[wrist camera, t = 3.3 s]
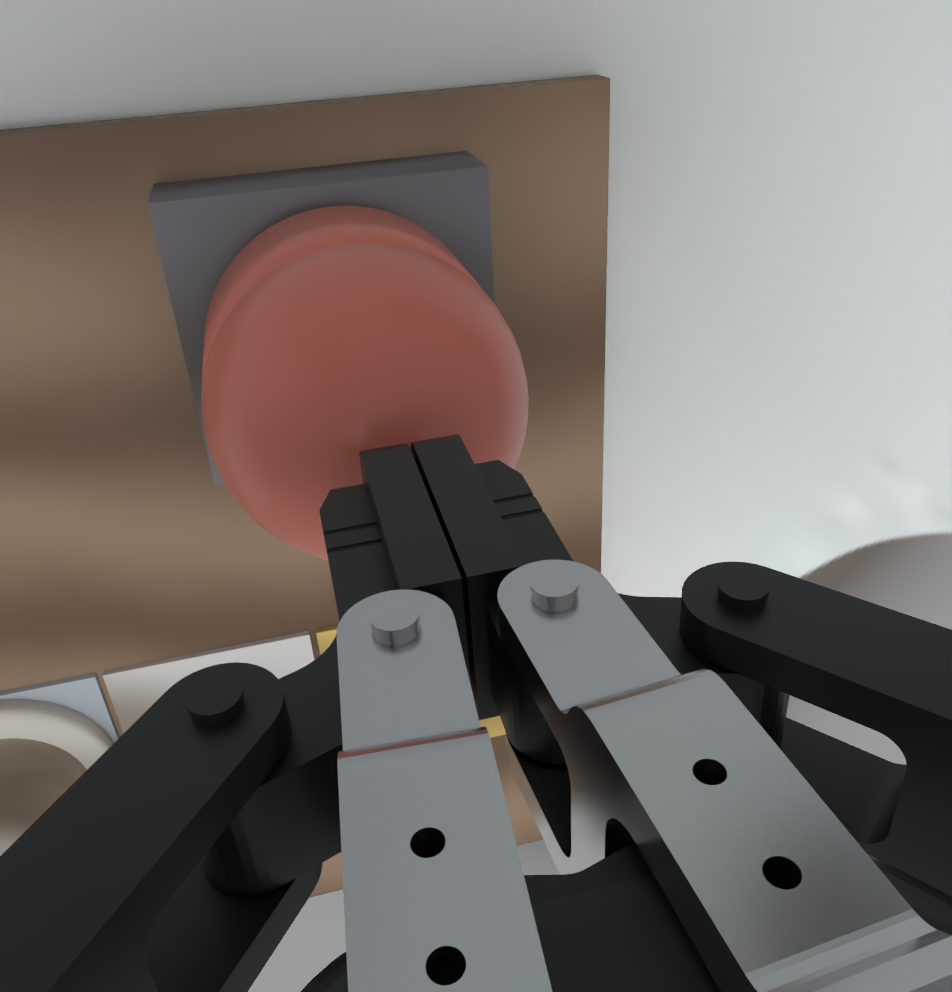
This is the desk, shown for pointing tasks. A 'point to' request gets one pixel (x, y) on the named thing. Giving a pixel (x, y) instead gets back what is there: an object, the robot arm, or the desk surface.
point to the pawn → (41, 759)
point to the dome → (349, 362)
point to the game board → (134, 398)
